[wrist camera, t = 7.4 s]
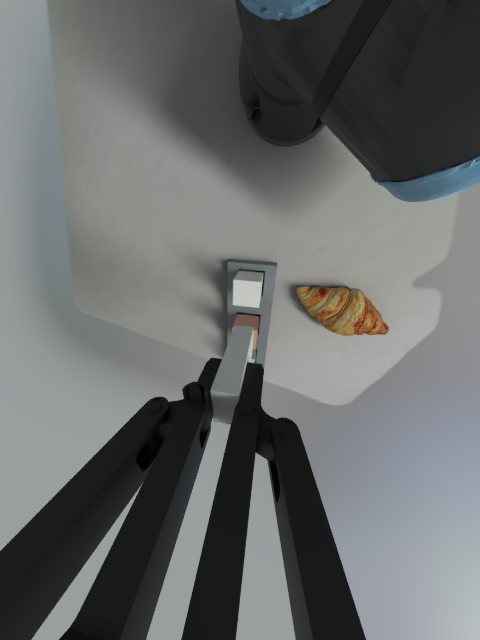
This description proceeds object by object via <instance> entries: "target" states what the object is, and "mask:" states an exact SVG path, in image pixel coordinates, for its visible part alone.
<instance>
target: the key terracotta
mask: <svg viewBox="0 0 480 640" xmlns="http://www.w3.org/2000/svg"><path fill="white" fill-rule="evenodd" d="M258 324H259V316H252V315H243V314H237V317H236V319H235V322H234V325H233V327H232V332H233V330H234V327H235V325H240V326H249V327H254V329H253V347H252V350H255V347H256V341H257V335H258Z"/></svg>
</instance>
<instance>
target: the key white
mask: <svg viewBox="0 0 480 640" xmlns="http://www.w3.org/2000/svg"><path fill="white" fill-rule="evenodd" d="M262 283H263V273H260V272H248V271H239V272H238V273H237V275H236V276H235V278H234V279H233V305H236V306H245V307H255V308H259V305H260V300H261V293H262Z"/></svg>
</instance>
